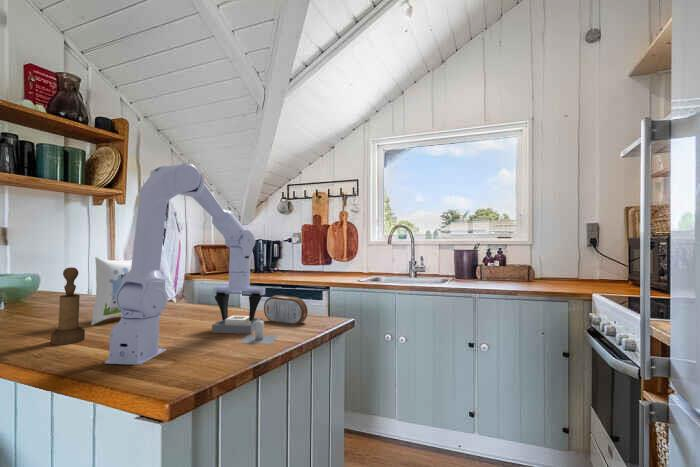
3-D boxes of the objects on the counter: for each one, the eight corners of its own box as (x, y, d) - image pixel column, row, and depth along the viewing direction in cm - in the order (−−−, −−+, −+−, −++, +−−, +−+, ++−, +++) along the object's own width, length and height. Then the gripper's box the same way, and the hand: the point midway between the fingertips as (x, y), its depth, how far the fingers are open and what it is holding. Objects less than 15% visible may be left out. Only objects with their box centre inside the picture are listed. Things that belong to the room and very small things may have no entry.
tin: (307, 325, 112) (308, 297, 112) (302, 327, 109) (303, 299, 109) (267, 319, 118) (268, 293, 119) (261, 321, 115) (262, 295, 116)
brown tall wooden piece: (65, 345, 85) (68, 268, 86) (43, 343, 87) (46, 267, 87) (91, 338, 92) (93, 267, 92) (69, 336, 93) (72, 266, 93)
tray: (250, 335, 98) (251, 326, 98) (211, 334, 98) (212, 324, 98) (261, 326, 108) (261, 317, 108) (226, 325, 109) (226, 317, 109)
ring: (250, 326, 106) (250, 316, 106) (244, 330, 100) (245, 320, 100) (231, 325, 106) (232, 315, 106) (225, 330, 100) (225, 319, 101)
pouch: (81, 324, 107) (84, 256, 107) (141, 313, 125) (143, 254, 125) (99, 327, 104) (102, 257, 104) (158, 315, 121) (160, 255, 122)
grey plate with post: (271, 346, 88) (271, 325, 88) (238, 345, 88) (238, 324, 89) (278, 337, 96) (278, 318, 96) (248, 336, 96) (248, 317, 97)
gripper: (268, 271, 107) (267, 317, 107) (219, 270, 108) (218, 316, 107) (262, 273, 100) (260, 322, 100) (210, 272, 101) (208, 321, 100)
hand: (238, 319), depth 103 cm, fingers open, 7 cm apart
